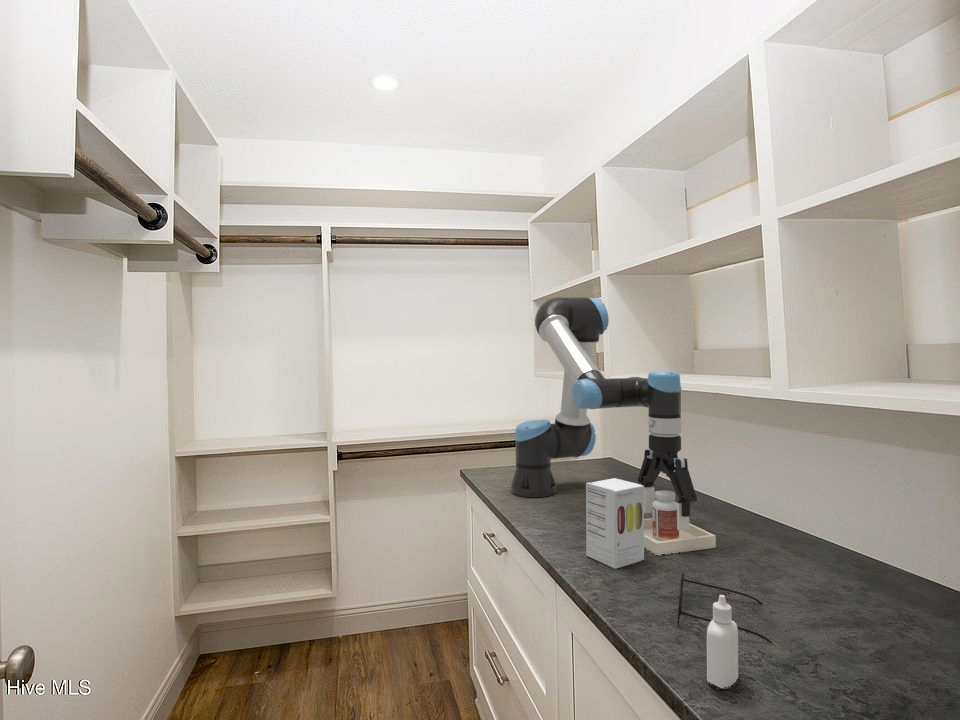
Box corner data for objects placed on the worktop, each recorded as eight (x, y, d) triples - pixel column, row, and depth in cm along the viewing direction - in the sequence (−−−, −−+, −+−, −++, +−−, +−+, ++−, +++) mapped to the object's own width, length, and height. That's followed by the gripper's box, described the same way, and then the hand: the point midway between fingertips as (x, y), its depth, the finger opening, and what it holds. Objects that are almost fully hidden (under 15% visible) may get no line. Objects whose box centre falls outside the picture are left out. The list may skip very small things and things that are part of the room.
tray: (619, 532, 136) (619, 521, 136) (673, 526, 140) (673, 515, 140) (656, 555, 120) (656, 543, 120) (715, 547, 125) (715, 535, 125)
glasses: (679, 594, 103) (682, 569, 102) (765, 616, 97) (769, 590, 97) (676, 630, 89) (679, 601, 89) (776, 659, 84) (780, 628, 83)
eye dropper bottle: (695, 674, 77) (694, 591, 76) (729, 667, 78) (728, 586, 78) (716, 693, 72) (715, 605, 72) (751, 686, 74) (750, 600, 73)
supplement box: (615, 570, 113) (614, 491, 113) (584, 556, 121) (584, 482, 121) (645, 560, 118) (645, 484, 118) (614, 547, 126) (614, 476, 126)
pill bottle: (684, 538, 129) (684, 493, 129) (668, 543, 126) (668, 497, 126) (663, 531, 134) (662, 487, 134) (647, 536, 131) (646, 491, 131)
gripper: (623, 428, 141) (624, 507, 141) (684, 443, 117) (685, 539, 117) (648, 426, 143) (649, 505, 143) (713, 441, 119) (713, 535, 119)
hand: (665, 520), depth 130 cm, fingers open, 13 cm apart
